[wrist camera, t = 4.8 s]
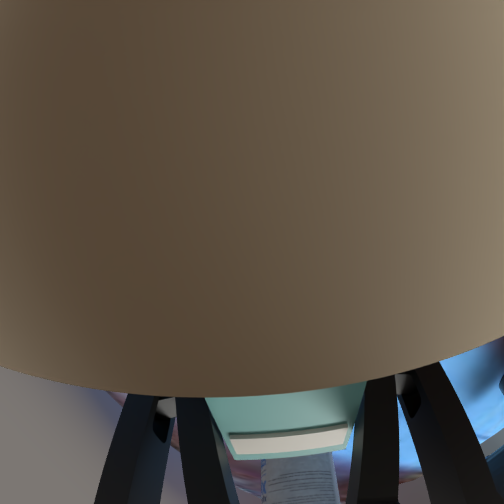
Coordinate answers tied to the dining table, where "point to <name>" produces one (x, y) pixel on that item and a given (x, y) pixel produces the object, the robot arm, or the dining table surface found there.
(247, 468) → the dining table surface
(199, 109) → the tunnel
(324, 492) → the supplement tub
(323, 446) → the beige-capped teal block
